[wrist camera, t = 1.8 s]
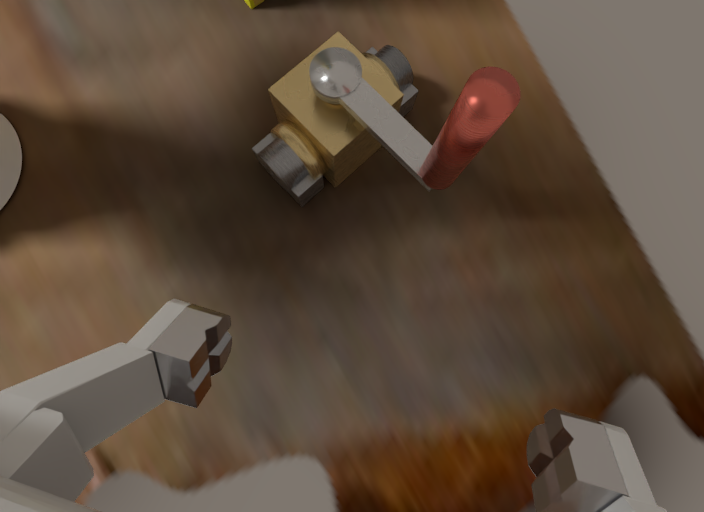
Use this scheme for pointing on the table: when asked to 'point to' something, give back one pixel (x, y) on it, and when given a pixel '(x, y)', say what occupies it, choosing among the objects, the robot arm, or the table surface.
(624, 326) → the table surface
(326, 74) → the lever
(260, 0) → the book
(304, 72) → the valve body
